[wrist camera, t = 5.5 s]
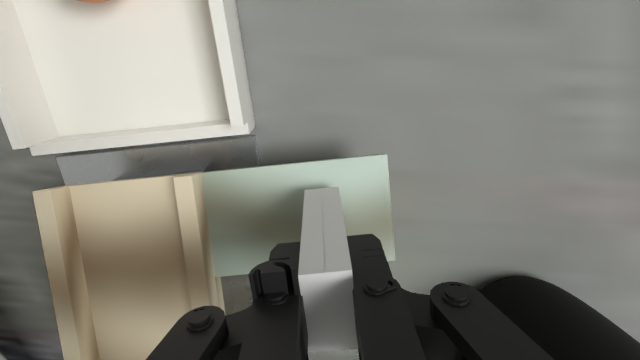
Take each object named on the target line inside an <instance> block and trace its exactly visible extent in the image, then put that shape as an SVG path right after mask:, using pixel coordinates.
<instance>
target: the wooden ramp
mask: <svg viewBox="0 0 640 360" xmlns="http://www.w3.org/2000/svg"><path fill="white" fill-rule="evenodd" d="M329 187H339V193H340V199H341V205H342V211H343V217H344V223H345V229H346V236H352V235H362V234H373V235H375V236H376V237H377V238H378V239H380V241H381V244H382V247H383V250H384V253H385V256H386V259H387V261H393V260H396V259H395V247H394V235H393V222H392V210H391V198H390V185H389V173H388V160H387V154H376V155H366V156H356V157H346V158H336V159H326V160H316V161H306V162H296V163H286V164H276V165H266V166H256V167H246V168H236V169H226V170H216V171H206V172H196V173H186V174H176V175H166V176H156V177H146V178H136V179H126V180H116V181H106V182H96V183H86V184H76V185H66V186H60V187H54V188H49V189H44V190H38V191H33V192H32V193H33V198H34V203H35V209H36V214H37V219H38V224H39V230H40V235H41V240H42V246H43V251H44V256H45V262H46V267H47V272H48V278H49V283H50V288H51V294H52V299H53V304H54V310H55V315H56V320H57V326H58V331H59V336H60V342H61V347H62V352H63V358H64V360H146V358H147V357H148V356H149V355H150V354H151V352H152V351H153V350H154V349H155V348H156V346H157V345H158V344H159V343H160V342H161V340H162V339H163V338H164V337H165V335H166V334H167V333H168V332H169V331H170V329H171V328H172V327H173V326H174V325H175V323H176V322H177V321H178V320H179V319H180V318H181V317H182V316H183V315H184V314H186V313H187V312H189V311H191V310H193V309H195V308H198V307H202V306H211V305H212V306H217V307H220V308H221V309H222V310H223V311H224V313H225V307H224V299H223V292H222V285H221V277H222V276H232V275H243V274H249V273H250V271H251V269H253V268H254V267H255V266H257V265H258V264H261V263H263V262H265V261H269V256H270V251H271V250H272V249H273V248H274V247H275V246H276V245H277V244H279V243H289V242H300V241H301V231H302V218H303V205H304V192H305V190H309V189H319V188H329ZM225 316H226V314H225Z"/></svg>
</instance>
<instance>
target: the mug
mask: <svg viewBox="0 0 640 360" xmlns="http://www.w3.org/2000/svg"><path fill="white" fill-rule="evenodd" d="M480 293H481V294H482V295H483V296H484V297H486V298H487V299H488V300H489V301H490V302H491V303H492V304H493V305H494V306H495V307H497V308H498V309H499V310H500V311H501V312H502V313H503V314H504V315H505V316H507V317H508V318H509V319H510V320H511V321H512V322H513V323H514V324H515V325H516V326H518V327H519V328H520V329H521V330H522V331H523V332H524V333H525V334H526V335H528V336H529V337H530V338H531V339H532V340H533V341H534V342H535V343H536V344H538V345H539V346H540V347H541V348H542V349H543V350H544V351H545V352H546V353H547V354H549V355H550V356H551V357H552V358H553V359H554V360H640V343H639V342H637V341H636V340H635V339H634V338H632V337H631V336H630V335H628V334H627V333H626V332H624V331H623V330H622V329H621V328H619V327H618V326H617V325H615V324H614V323H613V322H611V321H610V320H609V319H607V318H606V317H604V316H603V315H602V314H600V313H599V312H597V311H596V310H595V309H593V308H592V307H590V306H589V305H587V304H586V303H584V302H583V301H581V300H580V299H578V298H577V297H575V296H573V295H572V294H570V293H568V292H567V291H565V290H563V289H561V288H559V287H557V286H555V285H553V284H551V283H548V282H546V281H543V280H539V279H535V278H530V277H512V278H506V279H503V280H500V281H497V282H495V283H493V284H491V285H489V286H487V287H486V288H484V289H483V290H482V291H480Z"/></svg>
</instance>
